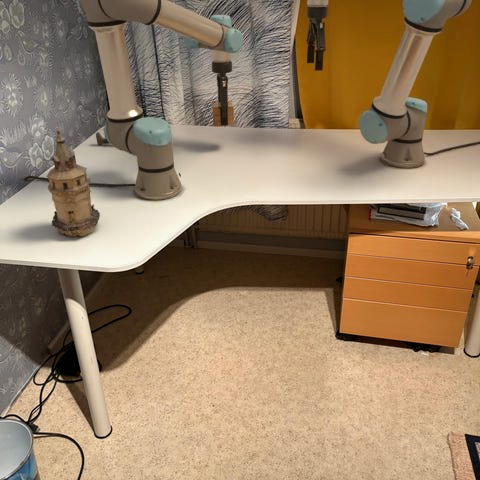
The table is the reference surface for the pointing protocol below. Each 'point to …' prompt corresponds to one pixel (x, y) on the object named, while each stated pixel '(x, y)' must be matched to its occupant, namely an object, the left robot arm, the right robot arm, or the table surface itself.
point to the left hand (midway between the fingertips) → (223, 122)
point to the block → (217, 114)
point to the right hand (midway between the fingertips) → (314, 66)
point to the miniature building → (70, 193)
